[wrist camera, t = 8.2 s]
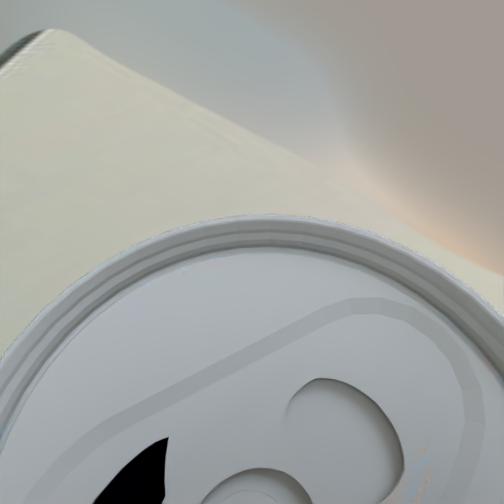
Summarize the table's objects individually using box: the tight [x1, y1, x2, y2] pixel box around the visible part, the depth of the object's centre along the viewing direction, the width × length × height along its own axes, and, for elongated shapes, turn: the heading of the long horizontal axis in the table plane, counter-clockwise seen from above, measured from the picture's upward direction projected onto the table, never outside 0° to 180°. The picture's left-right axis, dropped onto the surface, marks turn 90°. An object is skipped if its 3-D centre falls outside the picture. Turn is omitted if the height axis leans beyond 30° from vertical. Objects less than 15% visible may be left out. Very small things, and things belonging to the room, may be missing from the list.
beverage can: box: [0, 214, 504, 504], centre depth 9 cm, size 6×6×12 cm
